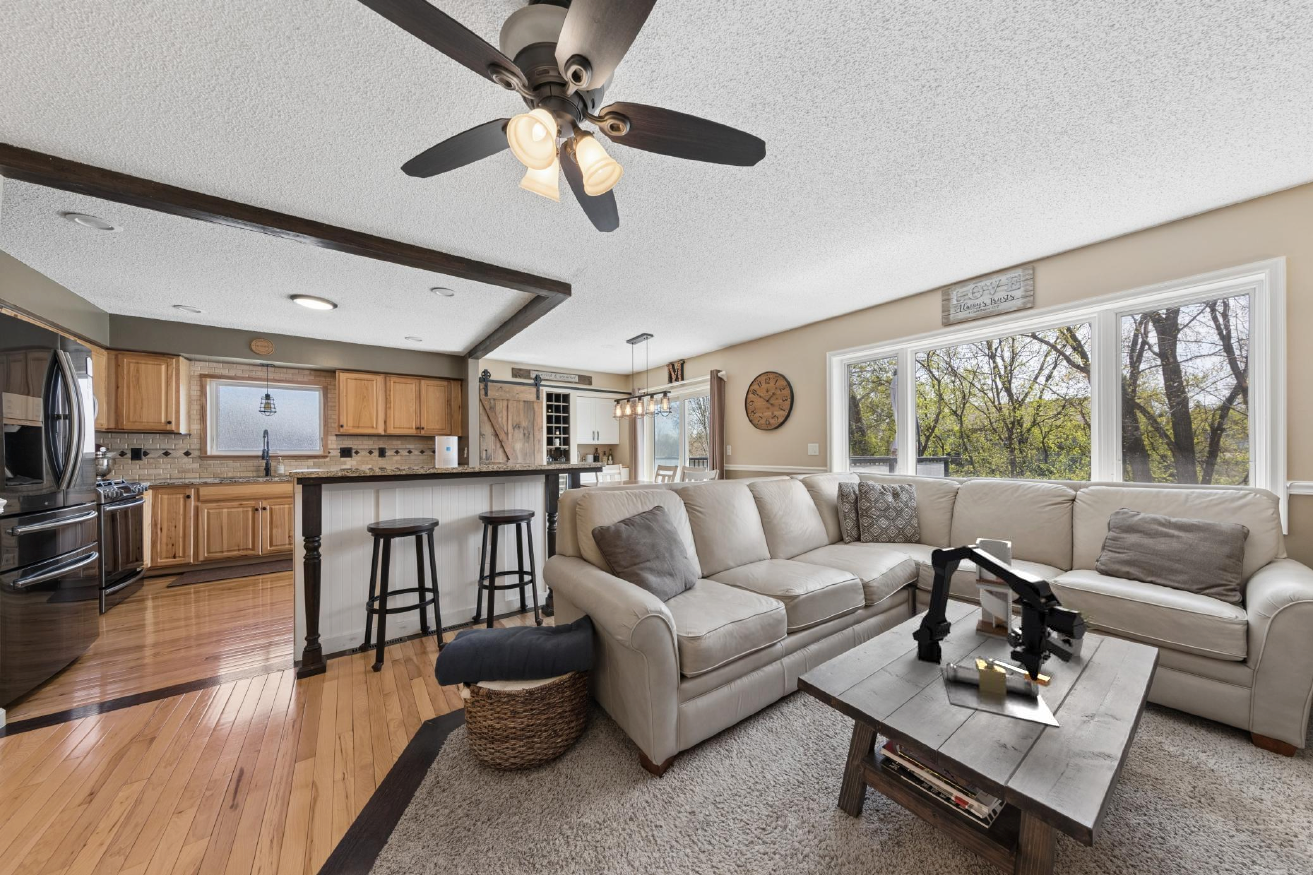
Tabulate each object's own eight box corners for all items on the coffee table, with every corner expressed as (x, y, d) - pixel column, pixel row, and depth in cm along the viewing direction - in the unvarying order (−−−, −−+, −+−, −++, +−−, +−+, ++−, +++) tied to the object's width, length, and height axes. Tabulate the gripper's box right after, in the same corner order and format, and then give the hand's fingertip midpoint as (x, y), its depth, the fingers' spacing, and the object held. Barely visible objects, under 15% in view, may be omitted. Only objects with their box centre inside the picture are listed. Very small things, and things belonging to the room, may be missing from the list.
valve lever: (982, 663, 137) (982, 657, 137) (987, 660, 138) (987, 655, 138) (1046, 687, 123) (1046, 680, 123) (1050, 684, 125) (1050, 677, 125)
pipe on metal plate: (950, 704, 128) (950, 678, 128) (940, 668, 148) (940, 646, 148) (1059, 727, 117) (1059, 700, 117) (1033, 685, 137) (1033, 662, 137)
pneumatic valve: (1055, 670, 146) (1055, 633, 146) (1014, 666, 149) (1014, 630, 149) (1044, 661, 152) (1044, 626, 152) (1005, 658, 154) (1005, 623, 154)
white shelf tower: (978, 624, 182) (977, 538, 183) (1011, 631, 176) (1011, 541, 176) (976, 633, 174) (975, 543, 174) (1011, 641, 167) (1010, 547, 167)
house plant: (1115, 665, 149) (1115, 616, 149) (1073, 664, 149) (1072, 615, 149) (1076, 645, 163) (1075, 600, 163) (1037, 645, 164) (1037, 600, 164)
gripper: (1064, 643, 113) (1064, 705, 113) (1081, 625, 124) (1081, 682, 124) (1009, 628, 122) (1009, 686, 122) (1030, 613, 133) (1030, 666, 133)
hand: (1034, 680), depth 125 cm, fingers closed
